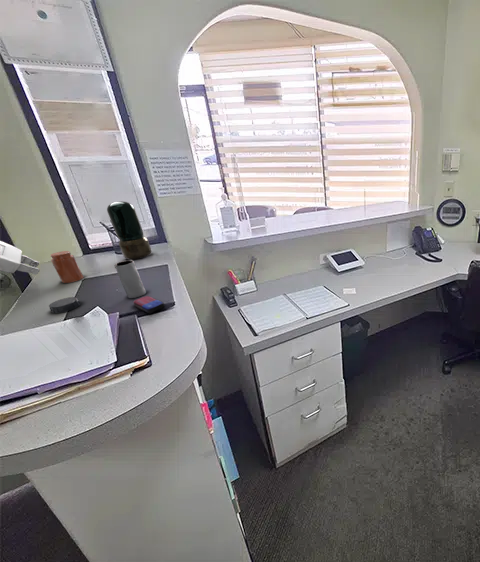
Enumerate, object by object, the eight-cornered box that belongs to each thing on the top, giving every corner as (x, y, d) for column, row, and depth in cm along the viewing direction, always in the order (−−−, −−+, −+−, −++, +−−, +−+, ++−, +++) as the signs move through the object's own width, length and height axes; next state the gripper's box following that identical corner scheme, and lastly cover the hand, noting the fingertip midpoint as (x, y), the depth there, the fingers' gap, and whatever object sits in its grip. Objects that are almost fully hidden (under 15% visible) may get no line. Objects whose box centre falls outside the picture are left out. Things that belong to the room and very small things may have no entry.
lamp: (155, 251, 131) (136, 198, 122) (149, 258, 123) (128, 202, 114) (129, 254, 128) (108, 201, 119) (121, 262, 120) (97, 205, 111)
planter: (148, 294, 93) (135, 262, 88) (130, 299, 89) (116, 267, 85) (143, 290, 95) (131, 258, 91) (126, 295, 92) (112, 263, 88)
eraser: (132, 305, 86) (129, 300, 85) (148, 299, 89) (146, 294, 88) (150, 315, 80) (148, 309, 79) (167, 308, 83) (164, 302, 82)
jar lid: (57, 305, 88) (54, 300, 87) (83, 300, 90) (80, 295, 89) (47, 315, 83) (44, 309, 82) (76, 309, 85) (72, 303, 84)
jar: (61, 284, 102) (47, 257, 98) (62, 279, 106) (48, 253, 102) (83, 279, 105) (71, 252, 101) (83, 274, 109) (71, 249, 105)
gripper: (-23, 244, 82) (45, 267, 93) (-16, 231, 95) (44, 253, 106) (-40, 264, 81) (31, 285, 92) (-29, 249, 94) (32, 269, 105)
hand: (38, 268), depth 99 cm, fingers open, 8 cm apart
